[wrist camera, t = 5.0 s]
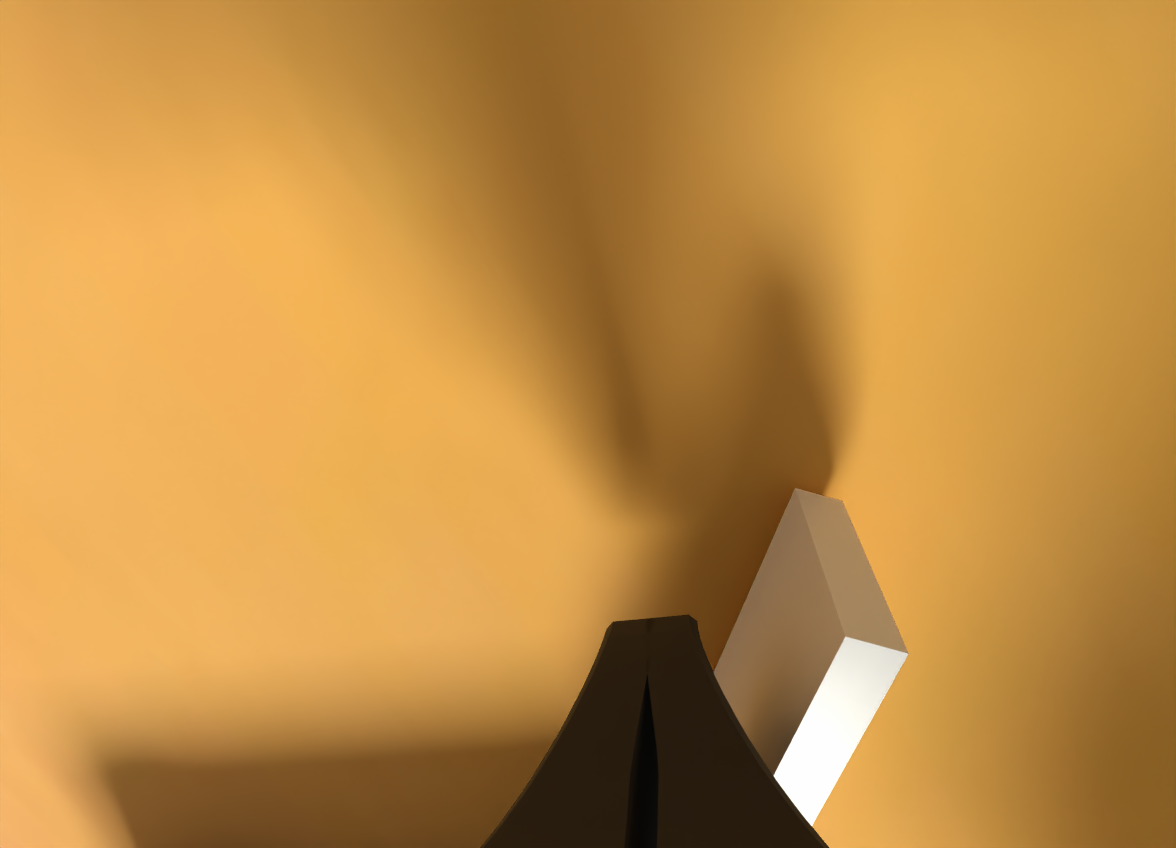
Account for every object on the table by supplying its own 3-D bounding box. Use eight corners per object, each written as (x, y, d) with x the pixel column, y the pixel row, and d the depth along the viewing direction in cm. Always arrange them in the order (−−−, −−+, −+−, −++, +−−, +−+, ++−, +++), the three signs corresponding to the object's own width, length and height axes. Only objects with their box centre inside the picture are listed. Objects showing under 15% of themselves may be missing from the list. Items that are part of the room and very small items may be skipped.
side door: (693, 855, 17) (706, 1066, 14) (633, 840, 17) (629, 1047, 13) (866, 502, 14) (943, 663, 10) (790, 480, 13) (841, 635, 10)
